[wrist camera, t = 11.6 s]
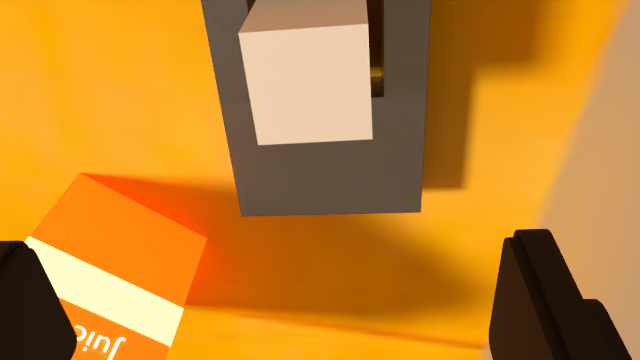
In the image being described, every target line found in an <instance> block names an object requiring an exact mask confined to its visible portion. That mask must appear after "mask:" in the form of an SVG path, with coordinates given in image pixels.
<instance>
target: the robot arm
mask: <svg viewBox="0 0 640 360" xmlns="http://www.w3.org/2000/svg"><path fill="white" fill-rule="evenodd" d="M489 345H490V350H491V354H492V358H493V360H632V358H631V357H630V355H629V353H628V351H627V349H626V347H625V345H624V343H623V341H622V339H621V337H620V335H619V333H618V331H617V330H616V328H615V326H614V324H613V322H612V320H611V318H610V316H609V314H608V312H607V310H606V309H605V307H604V306H603V304H602V303H601V302H600V301H598V300H597V299H583V297H582V295H581V293H580V291H579V290H578V287H577V285H576V283H575V281H574V279H573V277H572V275H571V273H570V271H569V269H568V267H567V265H566V262H565V260H564V258H563V256H562V254H561V252H560V250H559V248H558V246H557V244H556V242H555V240H554V237H553V235H552V234H551V232H550V231H549V230H548V229H525V230H516V231H515V233H514V236H513V237H510V238H505V239H504V243H503V249H502V255H501V261H500V267H499V273H498V279H497V285H496V291H495V297H494V303H493V309H492V316H491V322H490V328H489ZM76 347H77V335H76V332H75V330H74V328H73V326H72V324H71V322H70V320H69V318H68V316H67V314H66V312H65V310H64V308H63V306H62V304H61V302H60V300H59V298H58V296H57V294H56V292H55V290H54V288H53V286H52V284H51V282H50V280H49V278H48V276H47V274H46V272H45V270H44V268H43V266H42V264H41V262H40V260H39V257H38V255H37V253H36V252H35V250H34V249H32V248H29V247H28V245H27V244H26V243H25V242H23V241H0V360H71V358H72V357H73V355H74V353H75V350H76Z"/></svg>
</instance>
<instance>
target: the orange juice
mask: <svg viewBox="0 0 640 360" xmlns="http://www.w3.org/2000/svg"><path fill="white" fill-rule="evenodd" d="M206 241H207V238H205V237H203V236H201V235H200V234H198V233H196V232H194V231H192V230H190V229H188V228H186V227H184V226H182V225H180V224H178V223H176V222H174V221H172V220H170V219H169V218H167V217H165V216H163V215H161V214H159V213H157V212H155V211H153V210H151V209H149V208H147V207H145V206H143V205H141V204H140V203H138V202H136V201H134V200H132V199H130V198H128V197H126V196H124V195H122V194H120V193H118V192H116V191H114V190H112V189H110V188H109V187H107V186H105V185H103V184H101V183H99V182H97V181H95V180H93V179H91V178H89V177H87V176H85V175H83V174H81V173H79V174H78V176H77V177H76V178H75V180H74V181H73V182H72V183H71V185H70V186H69V187H68V189H67V190H66V191H65V192H64V194H63V195H62V196H61V197H60V199H59V200H58V201H57V203H56V204H55V205H54V206H53V208H52V209H51V210H50V212H49V213H48V214H47V215H46V217H45V218H44V219H43V221H42V222H41V223H40V224H39V226H38V227H37V228H36V229H35V231H34V232H33V233H32V235H31V236H29V237H28V238H27V239H26V241H25V243H26V244H27V245H28V247H29V248H32V249H34V250H35V252H36V253H37V255H38V257H39V260H40V262H41V264H42V266H43V268H44V270H45V272H46V274H47V276H48V278H49V280H50V282H51V284H52V286H53V288H54V290H55V292H56V294H57V296H58V298H59V300H60V302H61V304H62V306H63V308H64V310H65V312H66V314H67V316H68V318H69V320H70V322H71V324H72V326H73V328H74V330H75V332H76V335H77V347H76V350H75V353H74V355H73V357H72V358H71V360H165V358H166V356H167V353H168V350H169V348H170V347H171V344H172V341H173V338H174V335H175V333H176V330H177V327H178V324H179V321H180V318H181V315H182V312H183V310H184V308H183V307H184V304H185V301H186V298H187V295H188V292H189V290H190V287H191V284H192V281H193V278H194V275H195V272H196V270H197V267H198V264H199V261H200V258H201V255H202V252H203V249H204V247H205V244H206Z"/></svg>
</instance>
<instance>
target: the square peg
mask: <svg viewBox="0 0 640 360" xmlns="http://www.w3.org/2000/svg"><path fill="white" fill-rule="evenodd" d="M238 35H239V40H240V46H241V51H242V57H243V63H244V68H245V74H246V80H247V85H248V91H249V97H250V102H251V108H252V114H253V119H254V125H255V131H256V136H257V142H258V145H272V144H291V143H310V142H329V141H348V140H367V139H373V137H372V111H371V85H370V59H369V32H368V16H367V4H366V0H256V1H255V3H254V5H253V7H252V9H251V11H250V12H249V14H248V16H247V18H246V20H245V22H244V24H243V25H242V27H241V29H240V31H239V33H238Z"/></svg>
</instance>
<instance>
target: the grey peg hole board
mask: <svg viewBox="0 0 640 360" xmlns="http://www.w3.org/2000/svg"><path fill="white" fill-rule="evenodd" d="M255 1H256V0H201V4H202V9H203V14H204V20H205V25H206V30H207V36H208V41H209V46H210V51H211V57H212V62H213V67H214V73H215V78H216V83H217V88H218V94H219V99H220V104H221V110H222V115H223V120H224V126H225V131H226V136H227V141H228V147H229V152H230V157H231V163H232V168H233V173H234V178H235V184H236V189H237V194H238V200H239V205H240V210H241V216H284V215H327V214H370V213H414V212H421V197H422V176H423V155H424V134H425V113H426V93H427V72H428V51H429V30H430V10H431V0H381V10H382V77H370V85H371V111H372V137H373V139H367V140H348V141H329V142H310V143H291V144H272V145H258V142H257V136H256V131H255V125H254V119H253V114H252V108H251V102H250V97H249V91H248V85H247V80H246V74H245V68H244V63H243V57H242V51H241V46H240V40H239V35H238V33H239V31H240V29H241V27H242V25H243V24H244V22H245V20H246V18H247V16H248V14H249V12H250V11H251V9H252V7H253V5H254V3H255Z"/></svg>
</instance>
